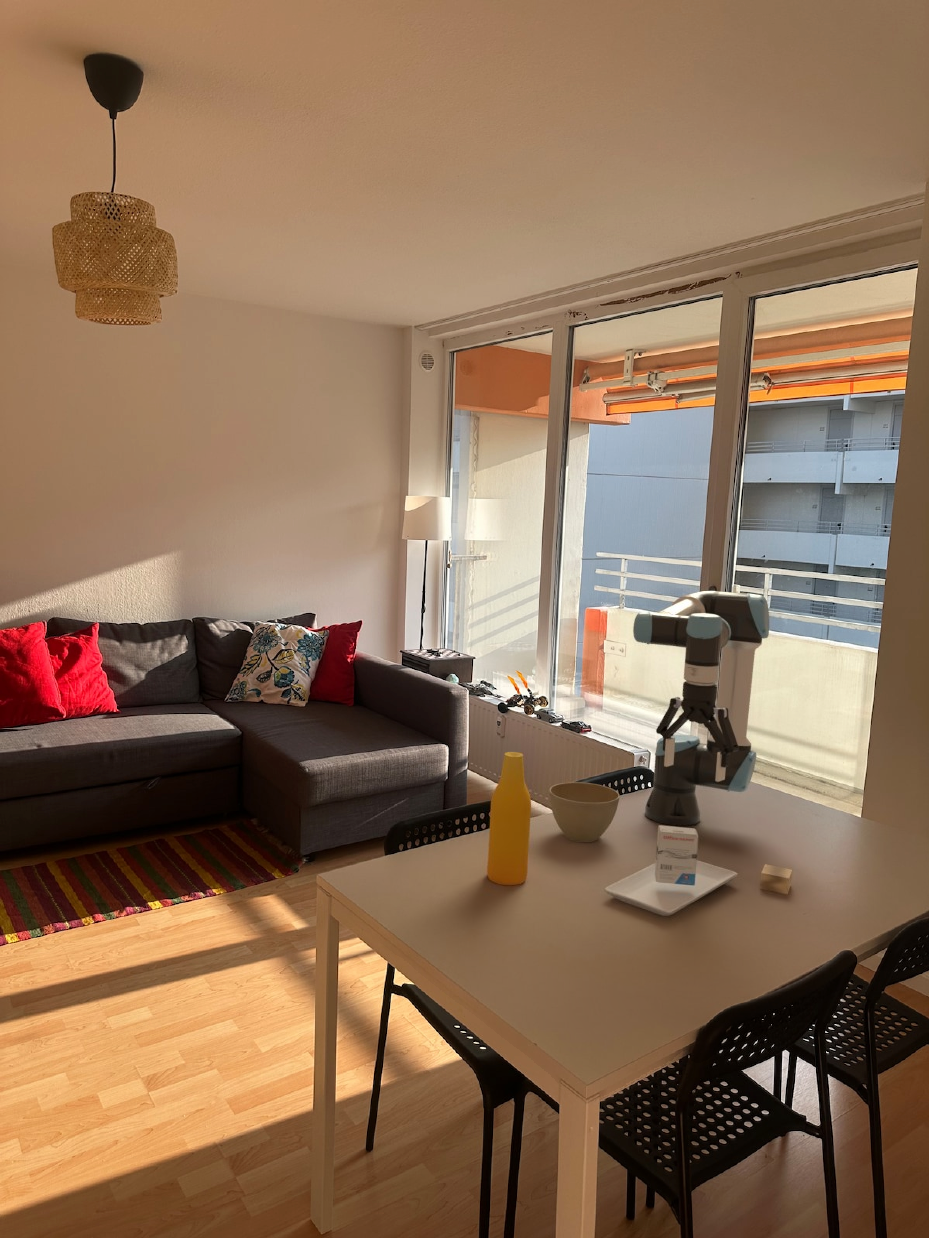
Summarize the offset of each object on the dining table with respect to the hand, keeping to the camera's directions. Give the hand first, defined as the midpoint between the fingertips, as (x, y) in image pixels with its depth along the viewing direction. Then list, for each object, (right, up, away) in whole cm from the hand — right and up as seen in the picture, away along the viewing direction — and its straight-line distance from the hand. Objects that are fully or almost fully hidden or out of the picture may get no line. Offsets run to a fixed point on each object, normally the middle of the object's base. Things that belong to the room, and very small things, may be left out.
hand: (693, 772), depth 204 cm
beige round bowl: (-22, -22, +28) cm, 42 cm away
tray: (-6, -27, -4) cm, 28 cm away
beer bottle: (-43, -24, -1) cm, 49 cm away
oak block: (+19, -27, +1) cm, 33 cm away
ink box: (-6, -24, -5) cm, 25 cm away
